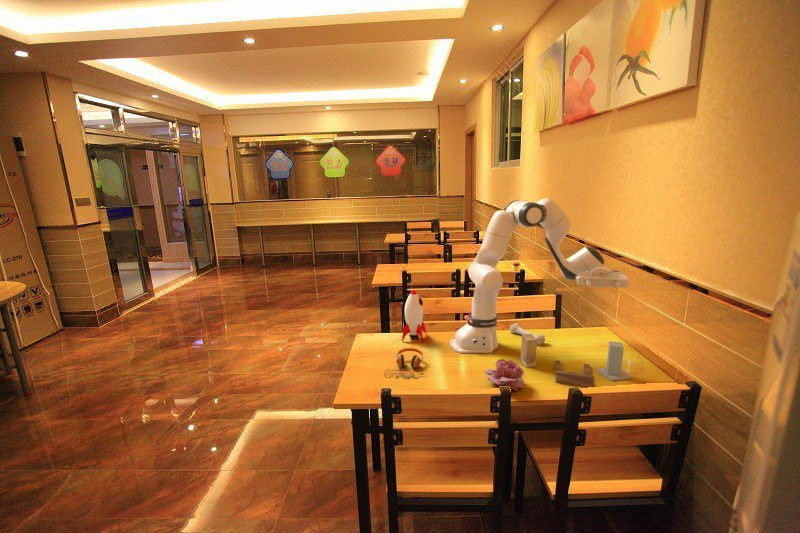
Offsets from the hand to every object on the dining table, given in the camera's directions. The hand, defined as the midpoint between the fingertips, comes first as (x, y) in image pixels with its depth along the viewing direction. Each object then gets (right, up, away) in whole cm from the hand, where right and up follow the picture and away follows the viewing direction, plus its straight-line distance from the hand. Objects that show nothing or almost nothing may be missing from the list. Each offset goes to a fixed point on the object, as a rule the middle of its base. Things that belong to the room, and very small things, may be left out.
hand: (603, 285), depth 169 cm
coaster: (-1, -35, -9) cm, 36 cm away
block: (-1, -34, -10) cm, 35 cm away
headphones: (-82, -35, 0) cm, 89 cm away
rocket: (-78, -28, +32) cm, 89 cm away
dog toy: (-23, -28, +28) cm, 46 cm away
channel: (-16, -35, -8) cm, 39 cm away
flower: (-45, -38, -16) cm, 61 cm away
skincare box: (-31, -33, +2) cm, 46 cm away
